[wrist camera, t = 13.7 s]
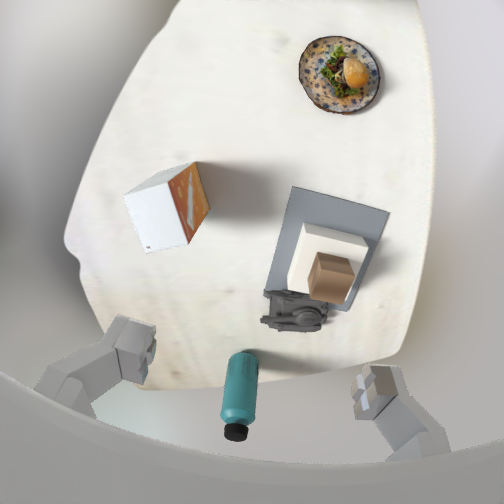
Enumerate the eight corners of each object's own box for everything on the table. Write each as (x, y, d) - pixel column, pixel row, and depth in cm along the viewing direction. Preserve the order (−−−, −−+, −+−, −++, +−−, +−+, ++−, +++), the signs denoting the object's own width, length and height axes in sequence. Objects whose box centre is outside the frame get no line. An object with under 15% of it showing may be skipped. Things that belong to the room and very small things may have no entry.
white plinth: (303, 222, 46) (305, 232, 42) (362, 236, 46) (368, 247, 43) (287, 276, 51) (287, 289, 47) (341, 287, 51) (346, 300, 47)
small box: (211, 208, 47) (189, 246, 35) (174, 217, 48) (144, 255, 36) (196, 159, 43) (167, 181, 32) (158, 170, 44) (120, 196, 33)
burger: (311, 26, 33) (318, 11, 26) (386, 58, 34) (406, 51, 27) (285, 97, 38) (288, 95, 32) (361, 127, 39) (378, 131, 32)
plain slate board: (292, 186, 44) (292, 187, 44) (387, 212, 44) (388, 213, 44) (263, 294, 53) (263, 296, 53) (346, 310, 54) (347, 311, 53)
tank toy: (260, 322, 57) (259, 341, 53) (262, 282, 53) (261, 299, 48) (322, 325, 56) (325, 343, 52) (330, 284, 52) (334, 302, 47)
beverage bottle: (223, 351, 61) (207, 432, 43) (251, 342, 59) (241, 427, 41) (239, 369, 63) (228, 447, 46) (266, 361, 62) (261, 442, 44)
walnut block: (316, 251, 44) (321, 269, 39) (347, 258, 44) (355, 276, 39) (307, 279, 46) (310, 298, 42) (337, 285, 46) (342, 304, 42)
